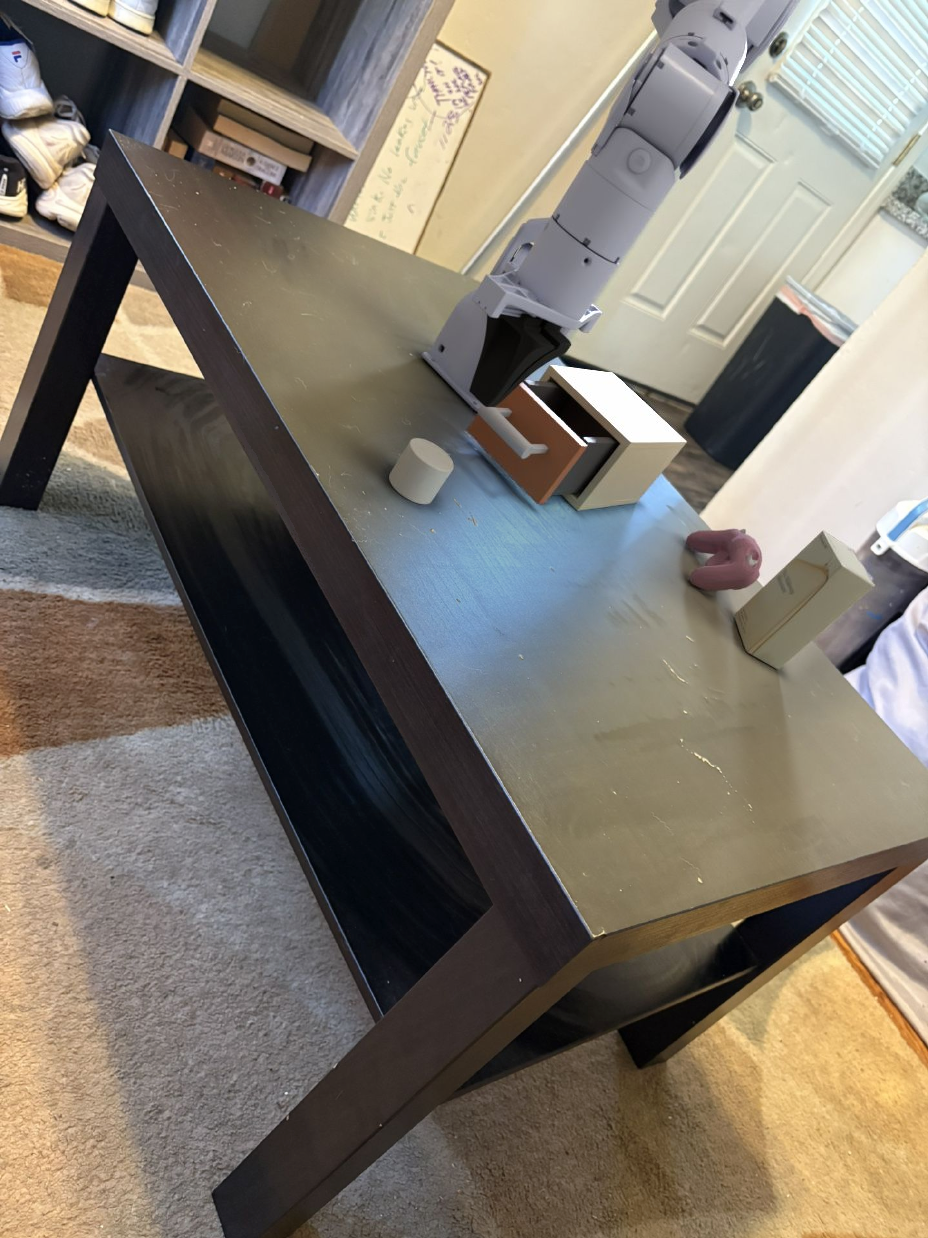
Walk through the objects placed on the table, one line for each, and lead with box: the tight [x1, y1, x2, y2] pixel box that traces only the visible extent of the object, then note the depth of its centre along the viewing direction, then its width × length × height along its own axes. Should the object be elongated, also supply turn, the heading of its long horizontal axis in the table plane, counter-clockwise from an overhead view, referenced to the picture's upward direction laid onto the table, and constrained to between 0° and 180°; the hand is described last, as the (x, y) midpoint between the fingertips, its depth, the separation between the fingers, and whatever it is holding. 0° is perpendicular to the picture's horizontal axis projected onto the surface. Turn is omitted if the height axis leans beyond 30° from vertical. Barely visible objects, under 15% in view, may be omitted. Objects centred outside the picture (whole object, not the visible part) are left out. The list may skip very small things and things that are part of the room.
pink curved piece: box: [685, 528, 763, 592], centre depth 91 cm, size 10×5×7 cm, turn 168°
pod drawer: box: [466, 379, 621, 505], centre depth 82 cm, size 17×10×7 cm, turn 137°
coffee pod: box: [388, 437, 455, 505], centre depth 69 cm, size 4×4×4 cm
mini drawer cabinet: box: [538, 364, 688, 512], centre depth 91 cm, size 14×12×9 cm
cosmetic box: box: [733, 530, 876, 670], centre depth 83 cm, size 6×4×12 cm
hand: (481, 398), depth 67 cm, fingers closed
